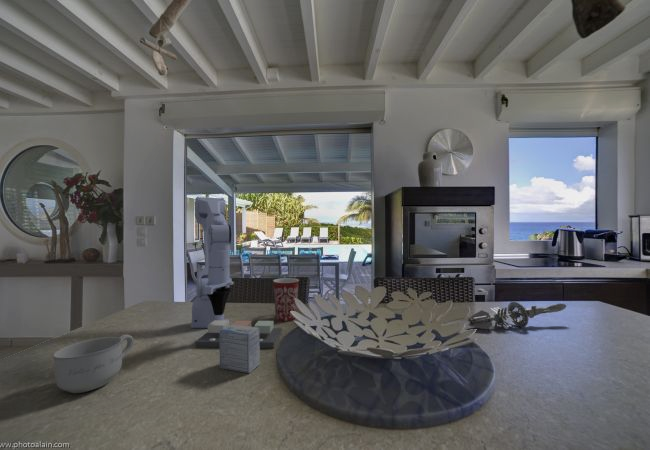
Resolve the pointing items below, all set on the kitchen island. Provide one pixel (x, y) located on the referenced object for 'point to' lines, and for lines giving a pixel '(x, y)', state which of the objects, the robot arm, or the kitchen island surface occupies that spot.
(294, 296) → the mug
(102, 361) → the teacup
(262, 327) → the sage key
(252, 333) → the grey layered block
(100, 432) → the kitchen island surface
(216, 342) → the keypad
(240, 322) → the terracotta key
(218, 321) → the ivory key
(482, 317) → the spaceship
